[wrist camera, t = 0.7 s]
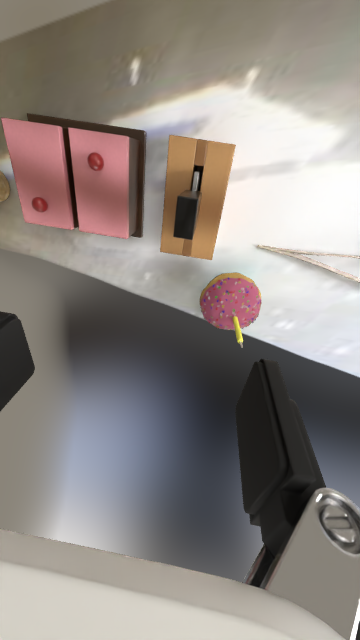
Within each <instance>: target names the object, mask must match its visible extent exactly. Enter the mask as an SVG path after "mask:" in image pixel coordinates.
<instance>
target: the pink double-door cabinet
mask: <svg viewBox="0 0 360 640" xmlns="http://www.w3.org/2000/svg"><path fill="white" fill-rule="evenodd" d="M27 117H28V121H22V120H15V119H8V118H1V120H2V125H3V129H4V133H5V138H6V142H7V146H8V151H9V155H10V159H11V164H12V168H13V172H14V177H15V181H16V185H17V190H18V194H19V198H20V203H21V207H22V212H23V216H24V220H25V222H27V223H33V224H39V225H45V226H51V227H58V228H64V229H70V230H72V229H74V228H77V227H79V231H81V232H88V233H94V234H100V235H106V236H112V237H118V238H124V239H127V238H129V237H130V236H134V237H140V238H141V237H142V236H143V212H144V184H145V156H146V131H143V130H136V129H130V128H123V127H116V126H109V125H103V124H96V123H89V122H82V121H76V120H69V119H62V118H55V117H49V116H42V115H35V114H27Z"/></svg>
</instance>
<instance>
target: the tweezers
mask: <svg viewBox="0 0 360 640" xmlns="http://www.w3.org/2000/svg"><path fill="white" fill-rule="evenodd" d="M258 247H260V248H263V249H267V250H270V251H274V252H278V253H281V254H284V255H288V256H291V257H294V258H297V259H300V260H302V261H306V262H308V263H311V264H314V265H317V266H319V267H322V268H324V269H327V270H329V271H332V272H334V273H336V274H339V275H341V276H344V277H346V278H348V279H352V280H355V281H357V282H359V283H360V278H358V277H355V276H353V275H351V274H348V273H346V272H343V271H340V270H338V269H335V268H333V267H330V266H328V265H326V264H323V263H321V262H318V261H316V260H313V259H310V258H308V257H305V256H303V255H300V254H308V255H325V256H339V257H352V258H358V259H360V256H350V255H337V254H324V253H314V252H304V251H298V250H290V249H282V248H276V247H269V246H263V245H258ZM295 253H297V254H295Z"/></svg>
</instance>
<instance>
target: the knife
mask: <svg viewBox="0 0 360 640" xmlns="http://www.w3.org/2000/svg"><path fill="white" fill-rule="evenodd" d="M201 178H202V171H196V172H194V179H193V187H192V190H185V191H183V192H182V193H181V194H180V195H178V196H177V205H176V214H175V223H174V233H173V237H175V238H182V239H188V240H193V237H194V234H195V230H196V227H197V223H198V216H199V210H200V204H201V198H202V192H199V191H200V185H201Z"/></svg>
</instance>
